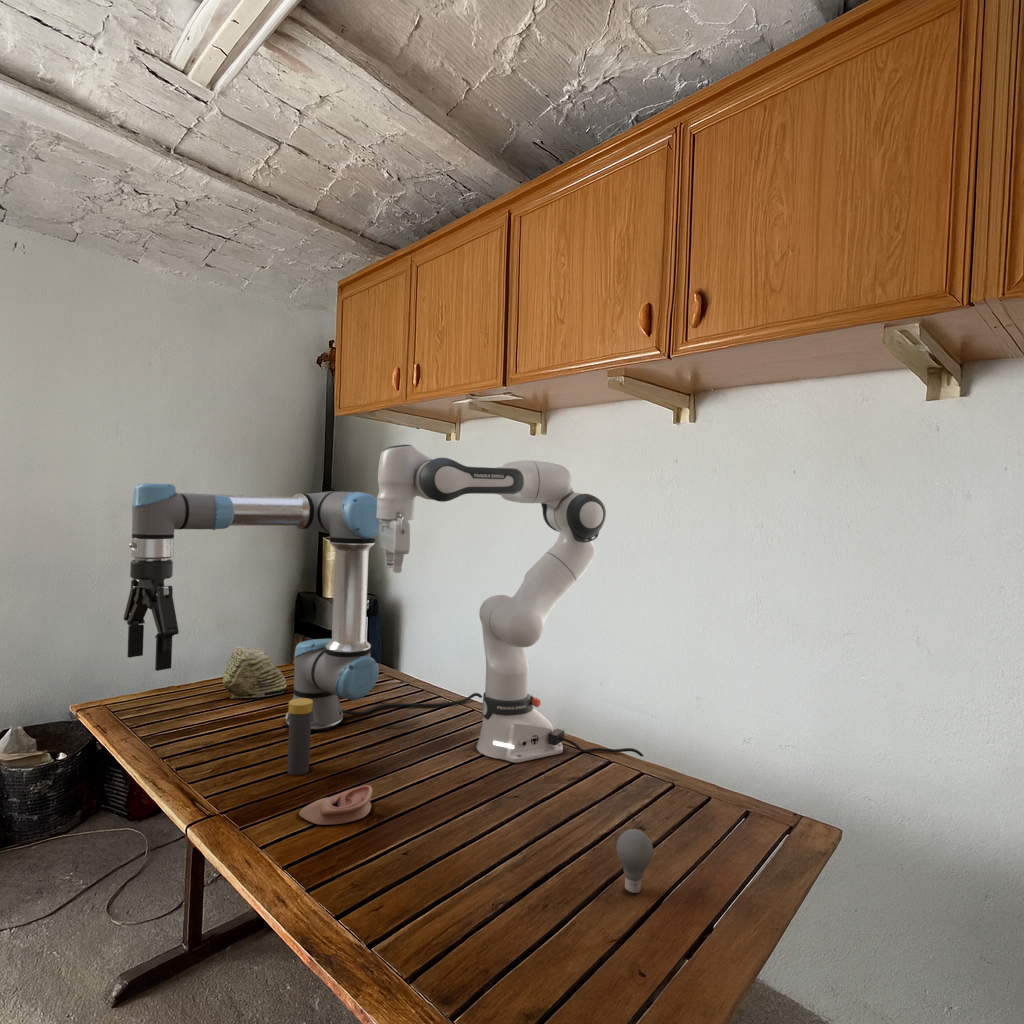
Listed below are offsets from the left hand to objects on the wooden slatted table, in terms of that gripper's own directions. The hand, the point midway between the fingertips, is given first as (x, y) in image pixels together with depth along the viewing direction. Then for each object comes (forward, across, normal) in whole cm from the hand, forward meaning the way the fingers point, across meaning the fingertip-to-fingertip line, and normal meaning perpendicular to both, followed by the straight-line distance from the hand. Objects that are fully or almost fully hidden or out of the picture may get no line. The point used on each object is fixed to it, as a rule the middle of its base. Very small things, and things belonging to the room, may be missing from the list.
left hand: (148, 662), depth 129 cm
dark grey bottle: (+28, +11, +29) cm, 42 cm away
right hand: (-18, +21, +46) cm, 54 cm away
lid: (+12, +11, +29) cm, 33 cm away
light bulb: (+28, +90, +41) cm, 103 cm away
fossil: (+28, -47, +50) cm, 74 cm away
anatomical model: (+28, +33, +23) cm, 49 cm away
